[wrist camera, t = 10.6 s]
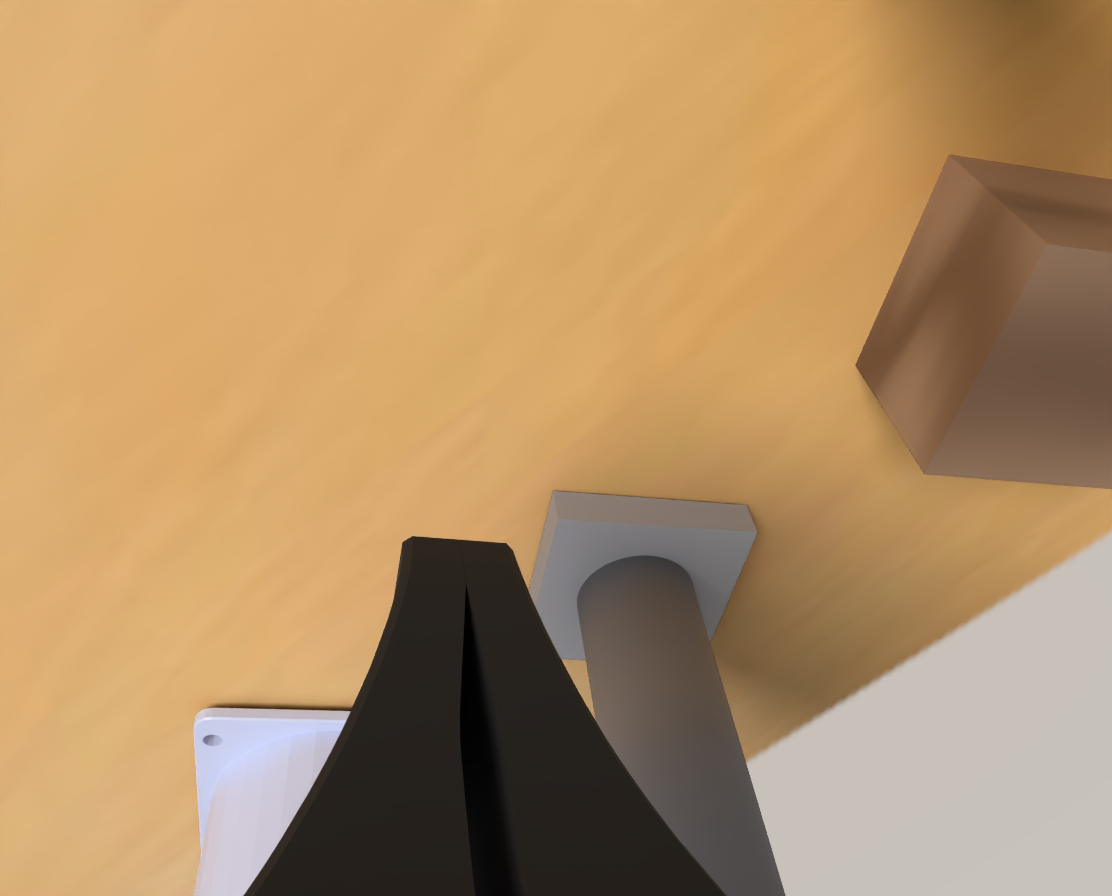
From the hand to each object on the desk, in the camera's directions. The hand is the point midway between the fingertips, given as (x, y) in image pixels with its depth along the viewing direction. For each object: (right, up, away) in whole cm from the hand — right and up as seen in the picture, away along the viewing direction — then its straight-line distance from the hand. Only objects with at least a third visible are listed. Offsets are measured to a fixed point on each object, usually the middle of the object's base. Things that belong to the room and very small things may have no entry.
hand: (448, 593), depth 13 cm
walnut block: (+11, +6, +8) cm, 15 cm away
